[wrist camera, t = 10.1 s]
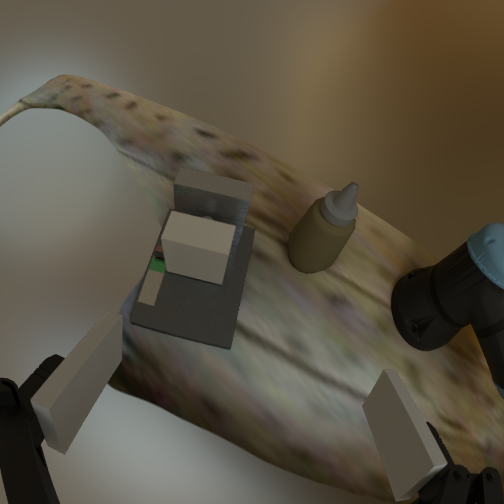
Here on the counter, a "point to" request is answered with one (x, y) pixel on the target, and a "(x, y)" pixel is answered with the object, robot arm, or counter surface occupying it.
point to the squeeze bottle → (323, 231)
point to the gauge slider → (196, 246)
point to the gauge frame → (191, 289)
